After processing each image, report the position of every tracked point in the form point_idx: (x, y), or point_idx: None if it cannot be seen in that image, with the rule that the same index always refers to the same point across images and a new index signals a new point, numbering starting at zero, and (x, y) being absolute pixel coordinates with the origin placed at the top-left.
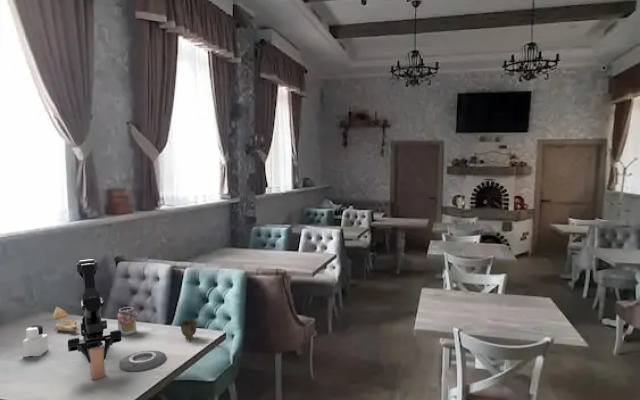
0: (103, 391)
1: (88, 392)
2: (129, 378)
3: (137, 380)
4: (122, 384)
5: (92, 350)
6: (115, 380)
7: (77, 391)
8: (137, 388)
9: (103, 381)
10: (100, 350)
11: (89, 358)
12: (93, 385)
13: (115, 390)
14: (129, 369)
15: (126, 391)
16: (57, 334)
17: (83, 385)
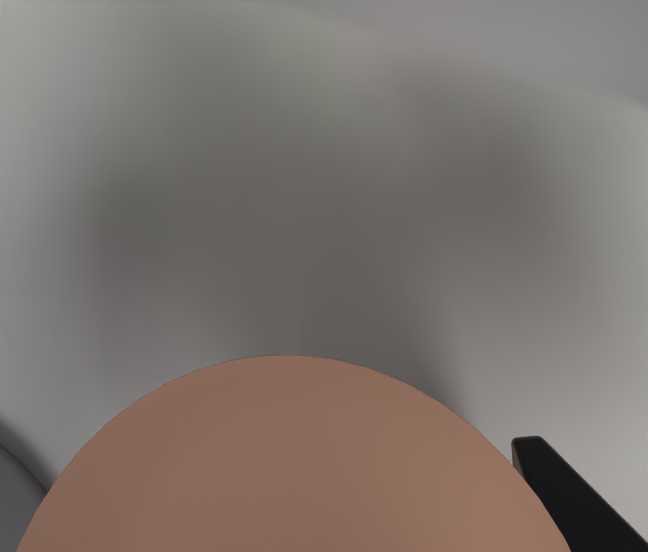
0: (321, 75)
1: (474, 102)
2: (61, 271)
3: (7, 192)
4: (141, 159)
5: (425, 499)
6: (195, 285)
7: (613, 169)
8: (42, 38)
9: (323, 319)
10: (137, 409)
11: (533, 490)
12: (435, 256)
13: (213, 59)
14: (4, 469)
15: (129, 13)
16: None
17: (565, 310)
